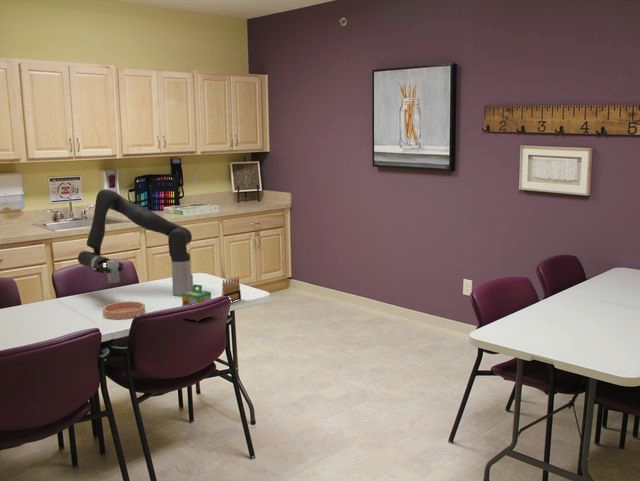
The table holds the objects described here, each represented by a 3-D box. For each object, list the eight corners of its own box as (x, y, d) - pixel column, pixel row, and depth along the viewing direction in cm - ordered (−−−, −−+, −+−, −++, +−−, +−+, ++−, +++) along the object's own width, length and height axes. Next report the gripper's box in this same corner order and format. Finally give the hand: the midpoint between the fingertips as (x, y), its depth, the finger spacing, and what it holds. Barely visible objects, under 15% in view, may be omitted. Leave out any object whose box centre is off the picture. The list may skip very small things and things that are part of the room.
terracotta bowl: (134, 305, 292) (134, 299, 292) (151, 313, 279) (151, 307, 278) (97, 312, 281) (97, 306, 281) (113, 321, 268) (112, 315, 267)
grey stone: (117, 279, 293) (115, 259, 292) (121, 281, 290) (119, 260, 288) (106, 281, 290) (105, 260, 288) (110, 283, 286) (109, 262, 285)
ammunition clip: (224, 305, 292) (223, 280, 290) (221, 304, 293) (220, 279, 291) (241, 300, 300) (240, 276, 298) (238, 299, 301) (237, 275, 299)
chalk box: (182, 319, 270) (180, 286, 267) (195, 314, 278) (194, 281, 275) (199, 322, 266) (197, 288, 263) (212, 316, 274) (211, 284, 271)
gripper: (86, 258, 295) (99, 264, 282) (115, 254, 304) (129, 259, 291) (87, 274, 296) (100, 280, 283) (116, 269, 305) (130, 275, 292)
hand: (115, 270), depth 287 cm, fingers closed on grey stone, 5 cm apart
